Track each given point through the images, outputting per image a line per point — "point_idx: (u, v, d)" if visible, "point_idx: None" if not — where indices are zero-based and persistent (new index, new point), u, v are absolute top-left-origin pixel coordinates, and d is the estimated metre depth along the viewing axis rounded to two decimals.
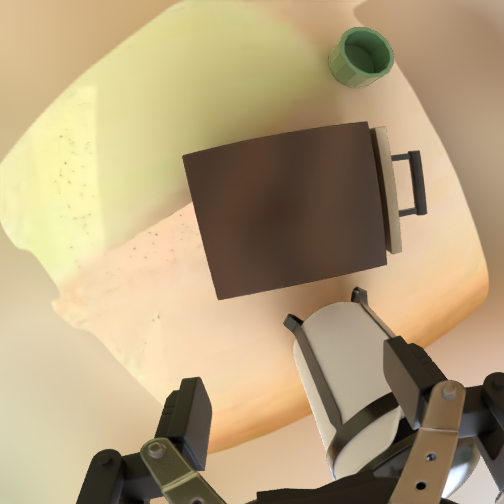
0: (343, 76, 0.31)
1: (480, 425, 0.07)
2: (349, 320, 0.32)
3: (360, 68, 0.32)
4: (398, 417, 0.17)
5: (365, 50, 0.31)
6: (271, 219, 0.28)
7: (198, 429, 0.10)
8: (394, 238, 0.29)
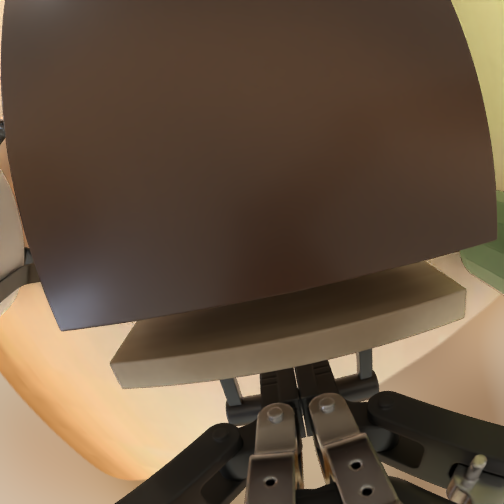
0: None
1: None
2: None
3: None
4: None
5: None
6: None
7: None
8: (152, 370, 0.10)
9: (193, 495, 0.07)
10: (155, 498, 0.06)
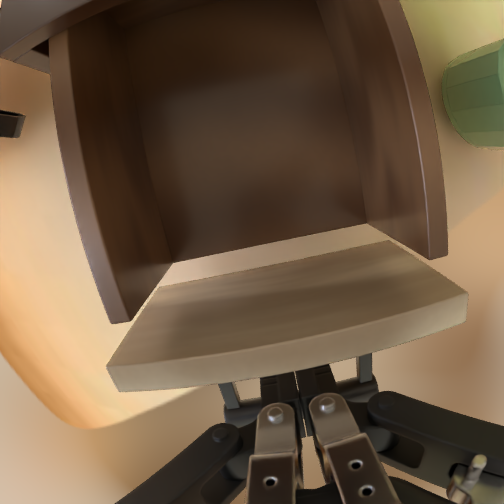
0: (466, 57, 0.12)
1: None
2: None
3: None
4: None
5: None
6: None
7: None
8: (149, 373, 0.09)
9: (193, 495, 0.07)
10: (155, 498, 0.06)
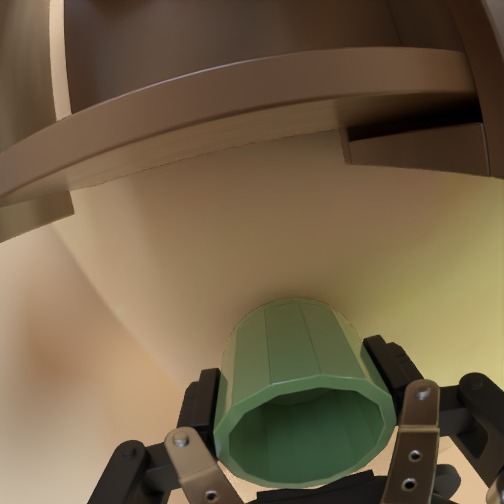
0: (350, 334, 0.11)
1: (456, 425, 0.08)
2: None
3: None
4: None
5: None
6: None
7: None
8: None
9: None
10: None
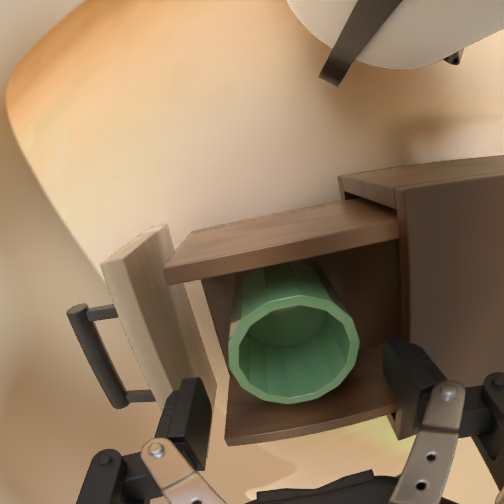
0: (325, 282, 0.17)
1: (480, 425, 0.07)
2: (436, 47, 0.10)
3: None
4: None
5: (257, 340, 0.19)
6: None
7: (198, 429, 0.10)
8: (125, 295, 0.12)
9: None
10: None
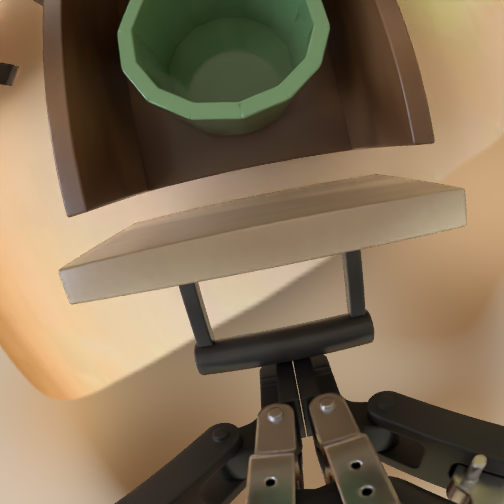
0: None
1: None
2: None
3: (216, 83, 0.12)
4: None
5: None
6: None
7: None
8: (101, 275, 0.08)
9: (193, 495, 0.07)
10: (155, 498, 0.06)
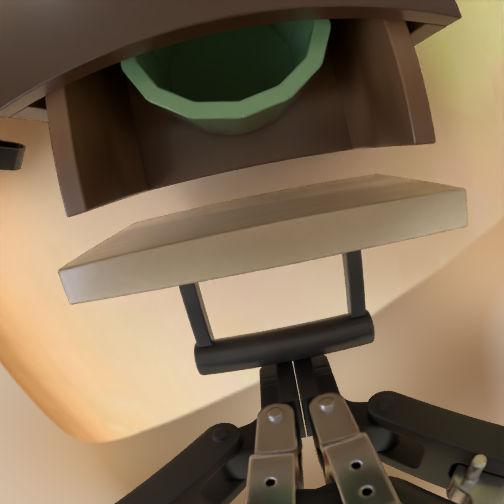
0: None
1: None
2: None
3: (217, 83, 0.12)
4: None
5: None
6: None
7: None
8: (101, 275, 0.08)
9: (193, 495, 0.07)
10: (155, 498, 0.06)
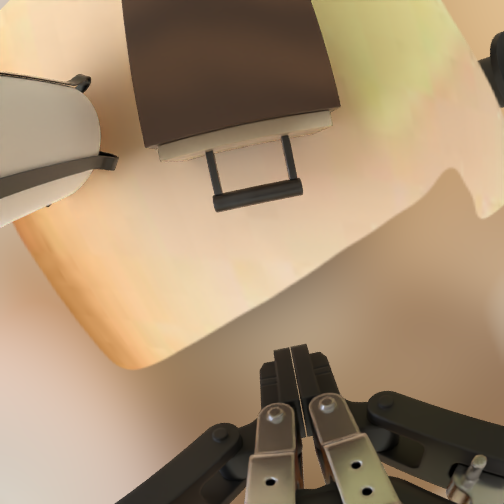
0: None
1: None
2: (75, 123, 0.21)
3: None
4: None
5: None
6: None
7: None
8: (178, 145, 0.21)
9: (193, 495, 0.07)
10: (155, 498, 0.06)
